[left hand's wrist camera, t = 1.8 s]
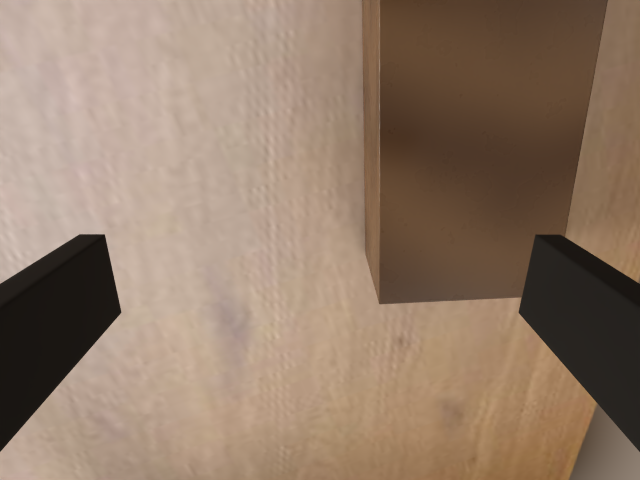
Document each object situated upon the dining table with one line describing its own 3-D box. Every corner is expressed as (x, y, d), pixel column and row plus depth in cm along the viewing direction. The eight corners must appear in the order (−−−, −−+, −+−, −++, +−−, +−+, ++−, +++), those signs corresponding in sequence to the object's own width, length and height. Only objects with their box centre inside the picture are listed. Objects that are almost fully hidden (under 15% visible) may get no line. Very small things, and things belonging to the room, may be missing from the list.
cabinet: (361, -28, 26) (379, -74, 19) (534, -38, 26) (624, -90, 18) (365, 254, 34) (379, 304, 26) (500, 248, 33) (554, 296, 26)
